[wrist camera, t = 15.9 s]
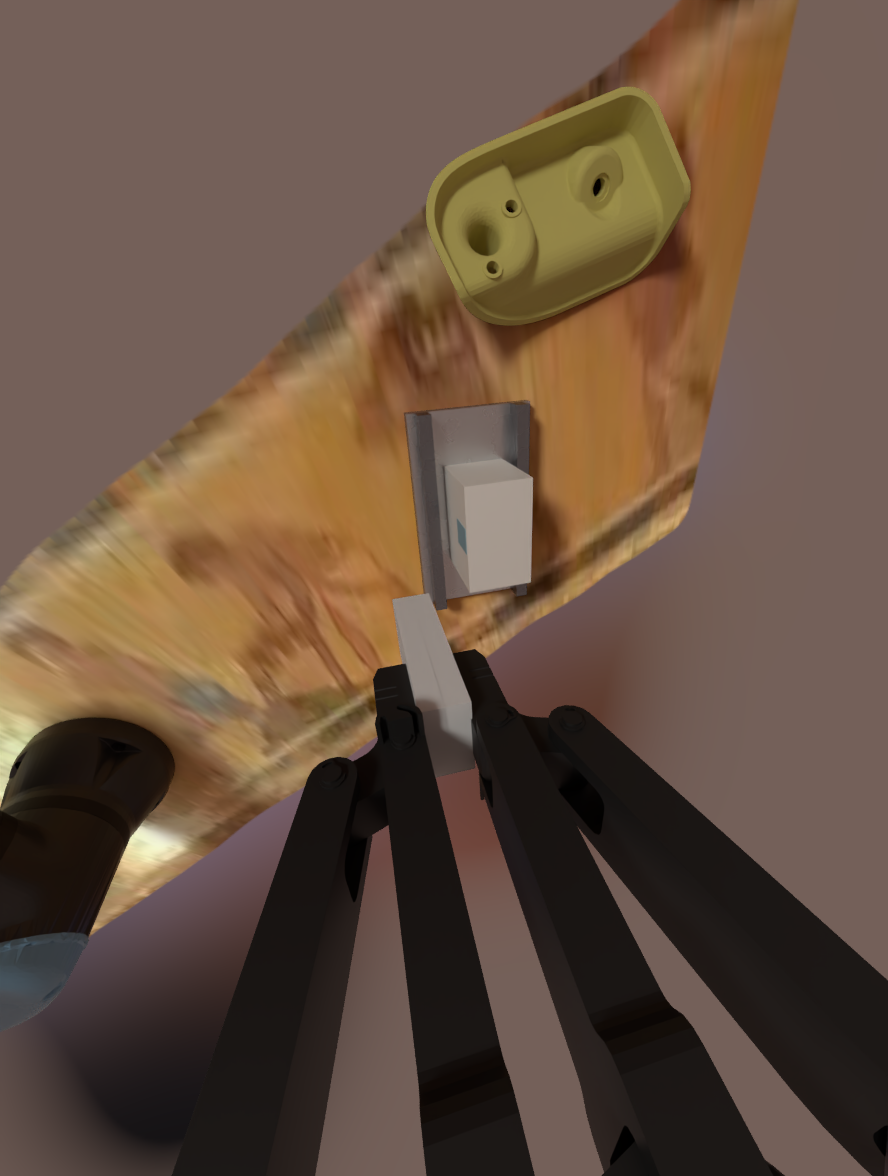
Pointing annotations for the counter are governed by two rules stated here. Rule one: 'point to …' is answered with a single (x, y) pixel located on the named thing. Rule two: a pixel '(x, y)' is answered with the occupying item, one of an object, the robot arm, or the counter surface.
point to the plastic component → (558, 208)
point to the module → (489, 523)
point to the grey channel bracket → (450, 443)
